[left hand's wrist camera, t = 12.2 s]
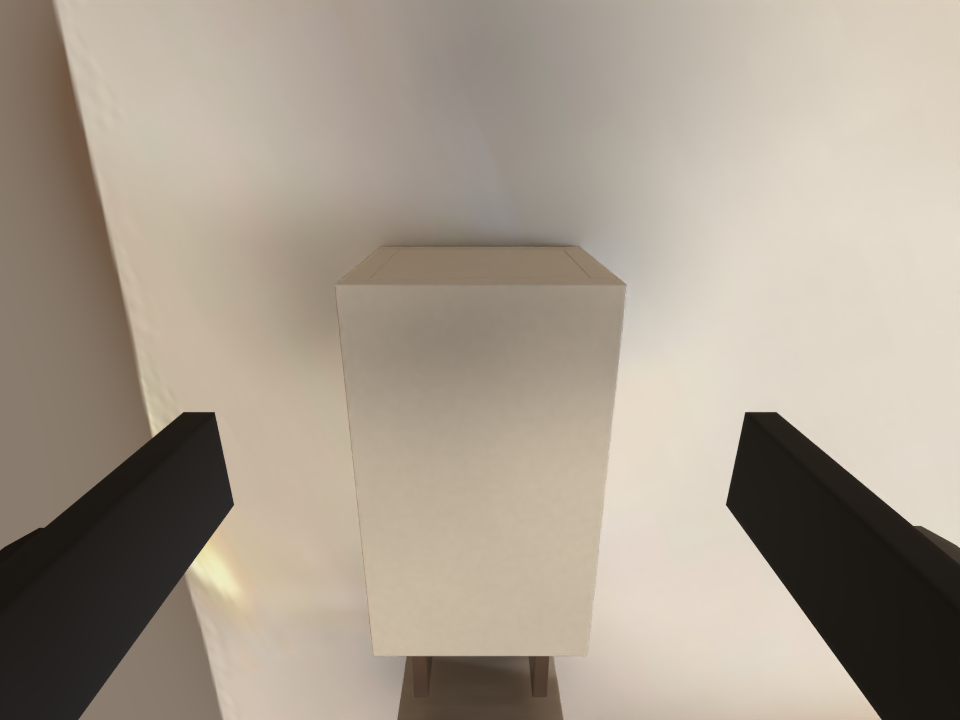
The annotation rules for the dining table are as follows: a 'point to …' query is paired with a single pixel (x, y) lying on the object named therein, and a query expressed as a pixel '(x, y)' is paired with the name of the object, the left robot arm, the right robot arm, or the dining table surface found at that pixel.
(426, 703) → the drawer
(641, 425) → the dining table surface
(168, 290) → the dining table surface
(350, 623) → the dining table surface
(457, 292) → the cabinet
